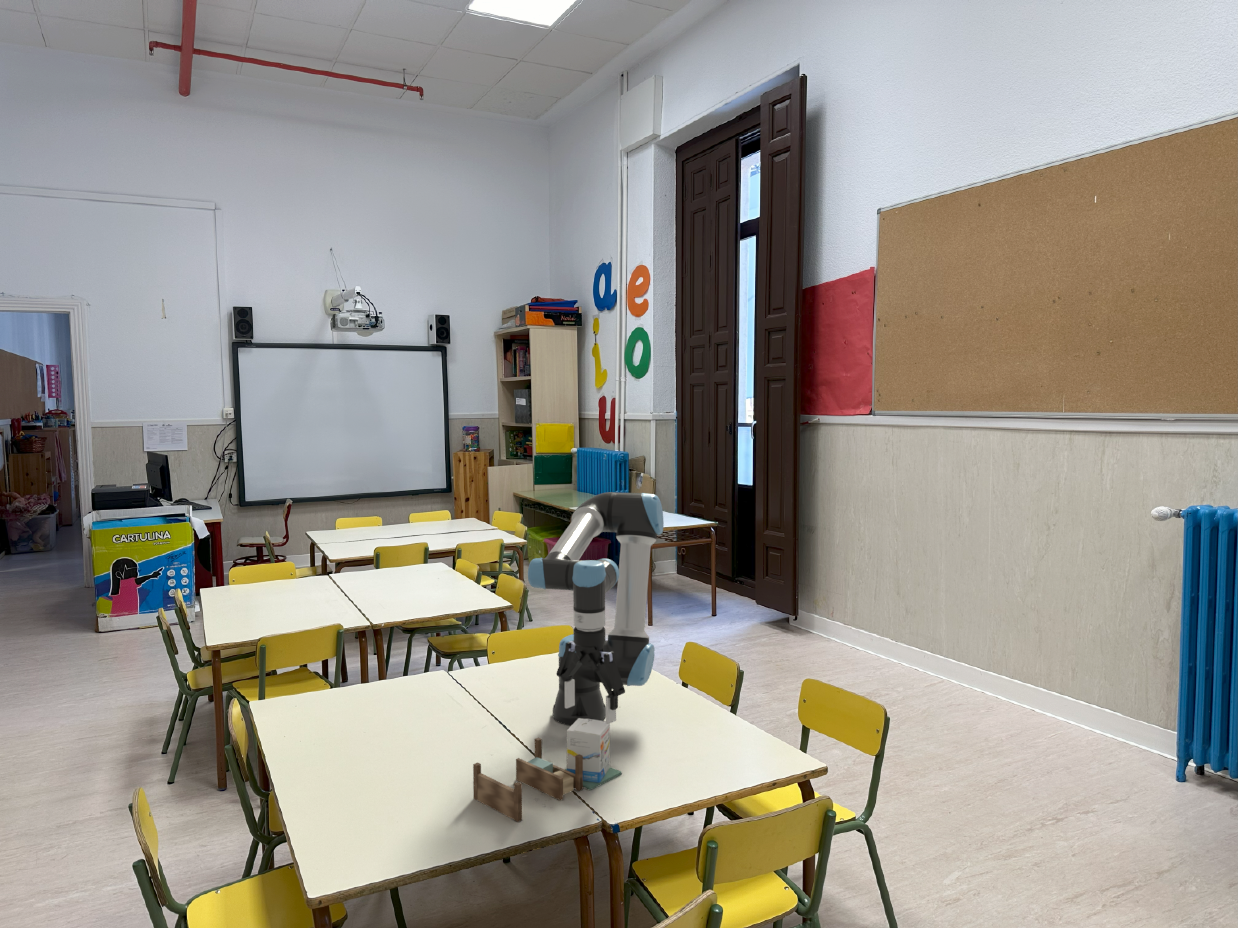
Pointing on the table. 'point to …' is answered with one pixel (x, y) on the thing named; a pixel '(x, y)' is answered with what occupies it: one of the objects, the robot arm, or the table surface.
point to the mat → (608, 776)
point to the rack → (529, 774)
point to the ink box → (589, 748)
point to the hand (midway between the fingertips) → (589, 714)
